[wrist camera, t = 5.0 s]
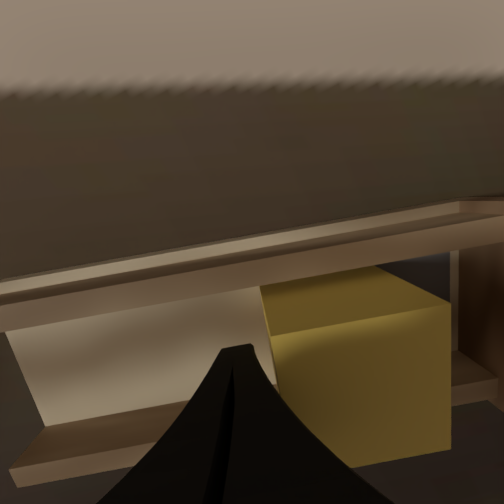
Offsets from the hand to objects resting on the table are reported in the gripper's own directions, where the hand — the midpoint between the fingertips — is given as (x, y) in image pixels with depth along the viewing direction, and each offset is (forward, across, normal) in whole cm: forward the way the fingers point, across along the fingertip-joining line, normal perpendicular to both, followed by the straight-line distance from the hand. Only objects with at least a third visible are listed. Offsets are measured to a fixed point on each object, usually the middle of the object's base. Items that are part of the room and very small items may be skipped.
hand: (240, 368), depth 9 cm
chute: (+3, -1, 0) cm, 3 cm away
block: (+2, -4, 0) cm, 4 cm away
